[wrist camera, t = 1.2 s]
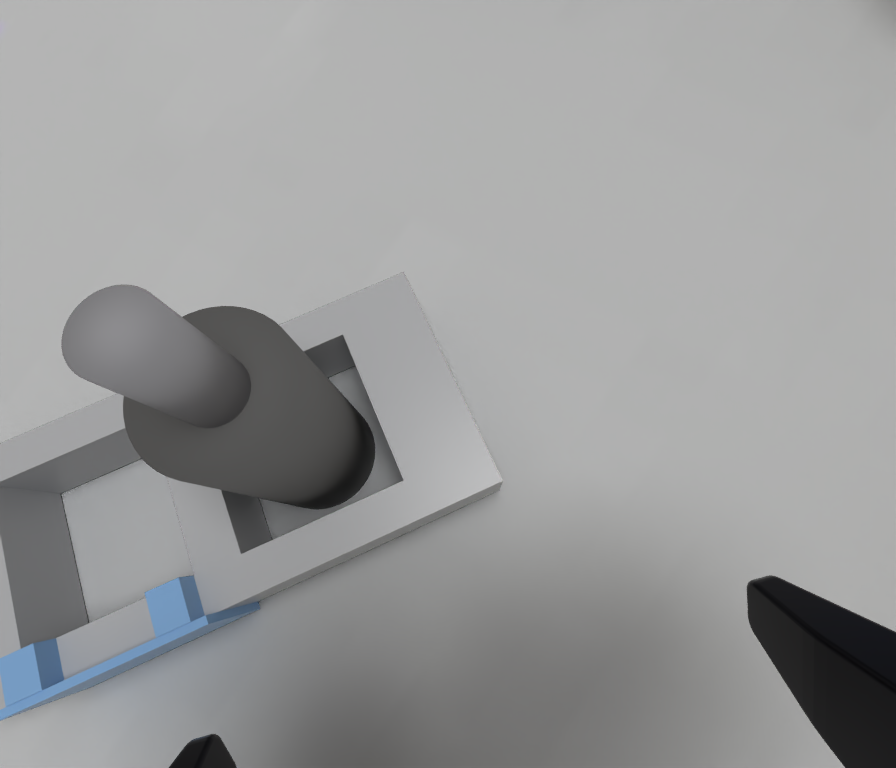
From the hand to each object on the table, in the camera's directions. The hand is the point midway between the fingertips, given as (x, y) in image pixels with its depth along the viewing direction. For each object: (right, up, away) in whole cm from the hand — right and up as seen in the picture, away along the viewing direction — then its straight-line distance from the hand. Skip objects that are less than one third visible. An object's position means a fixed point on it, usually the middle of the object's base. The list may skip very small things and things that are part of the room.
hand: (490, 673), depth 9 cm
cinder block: (-10, 0, +14) cm, 18 cm away
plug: (-6, +2, +15) cm, 16 cm away
